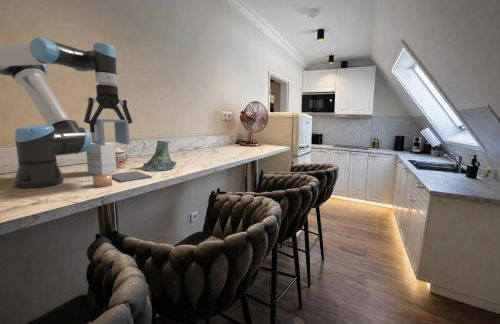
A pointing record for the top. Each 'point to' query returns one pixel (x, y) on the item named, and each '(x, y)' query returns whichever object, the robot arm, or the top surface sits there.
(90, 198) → the top surface
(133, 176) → the mat
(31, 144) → the robot arm
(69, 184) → the top surface
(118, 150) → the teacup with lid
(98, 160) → the supplement box
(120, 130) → the blue-grey hollow block
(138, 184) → the top surface
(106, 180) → the bowl
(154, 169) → the tree stump
